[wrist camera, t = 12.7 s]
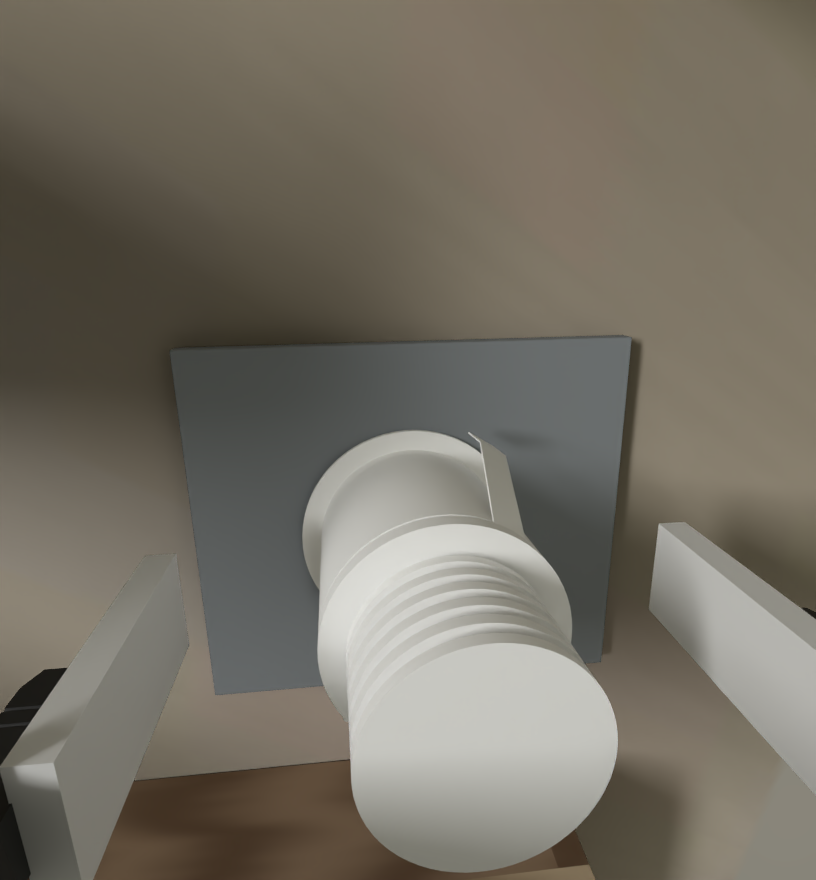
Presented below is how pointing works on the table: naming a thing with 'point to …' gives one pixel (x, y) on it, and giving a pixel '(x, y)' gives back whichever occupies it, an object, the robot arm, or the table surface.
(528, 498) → the rubber mat
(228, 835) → the open wooden box
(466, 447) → the downlight
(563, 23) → the table surface
